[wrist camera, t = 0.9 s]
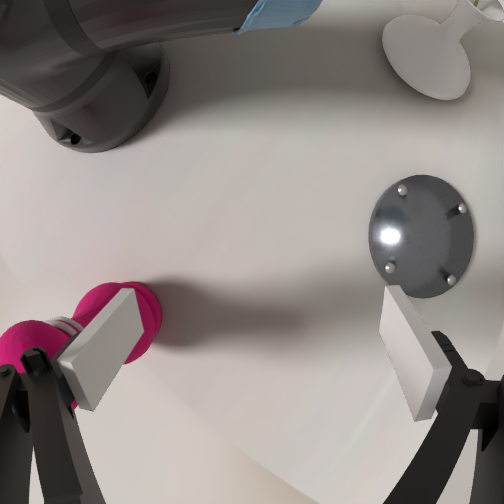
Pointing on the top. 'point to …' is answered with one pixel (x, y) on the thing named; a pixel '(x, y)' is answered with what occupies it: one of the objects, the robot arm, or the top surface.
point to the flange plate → (421, 236)
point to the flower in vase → (436, 48)
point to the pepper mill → (79, 325)
